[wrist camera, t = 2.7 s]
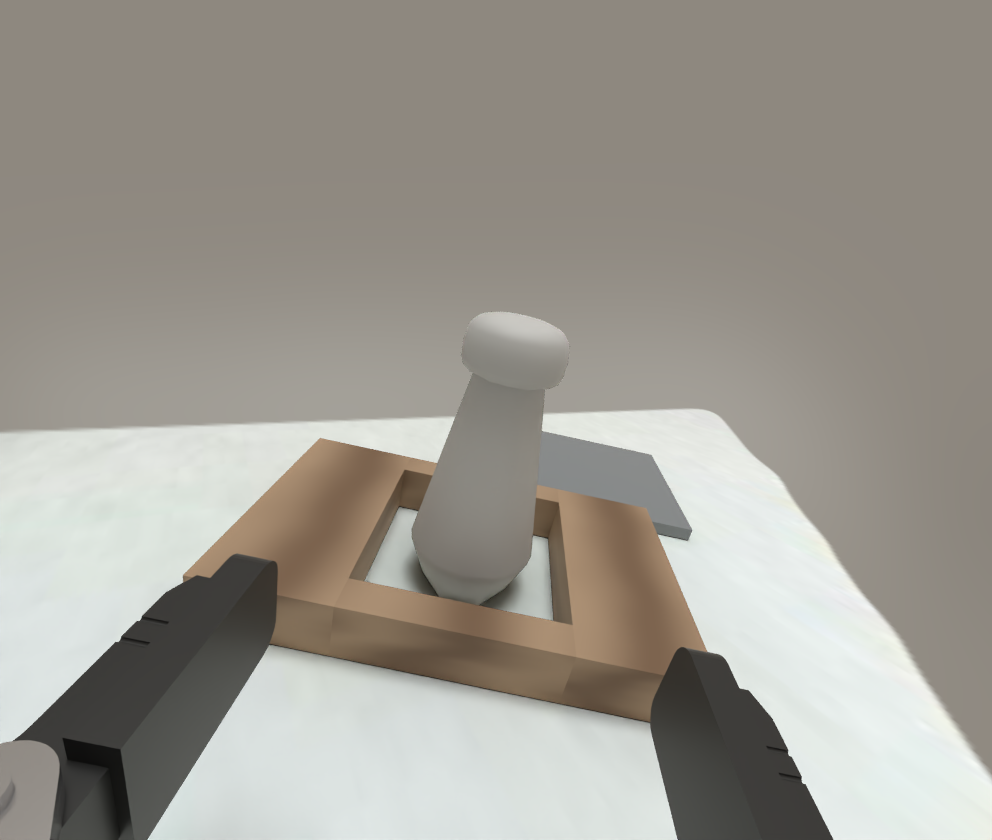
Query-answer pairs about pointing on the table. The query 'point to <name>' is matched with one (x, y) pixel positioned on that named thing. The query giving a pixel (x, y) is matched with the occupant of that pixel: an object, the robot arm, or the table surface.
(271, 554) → the walnut stand
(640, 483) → the slate board
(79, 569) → the table surface
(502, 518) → the salt shaker
